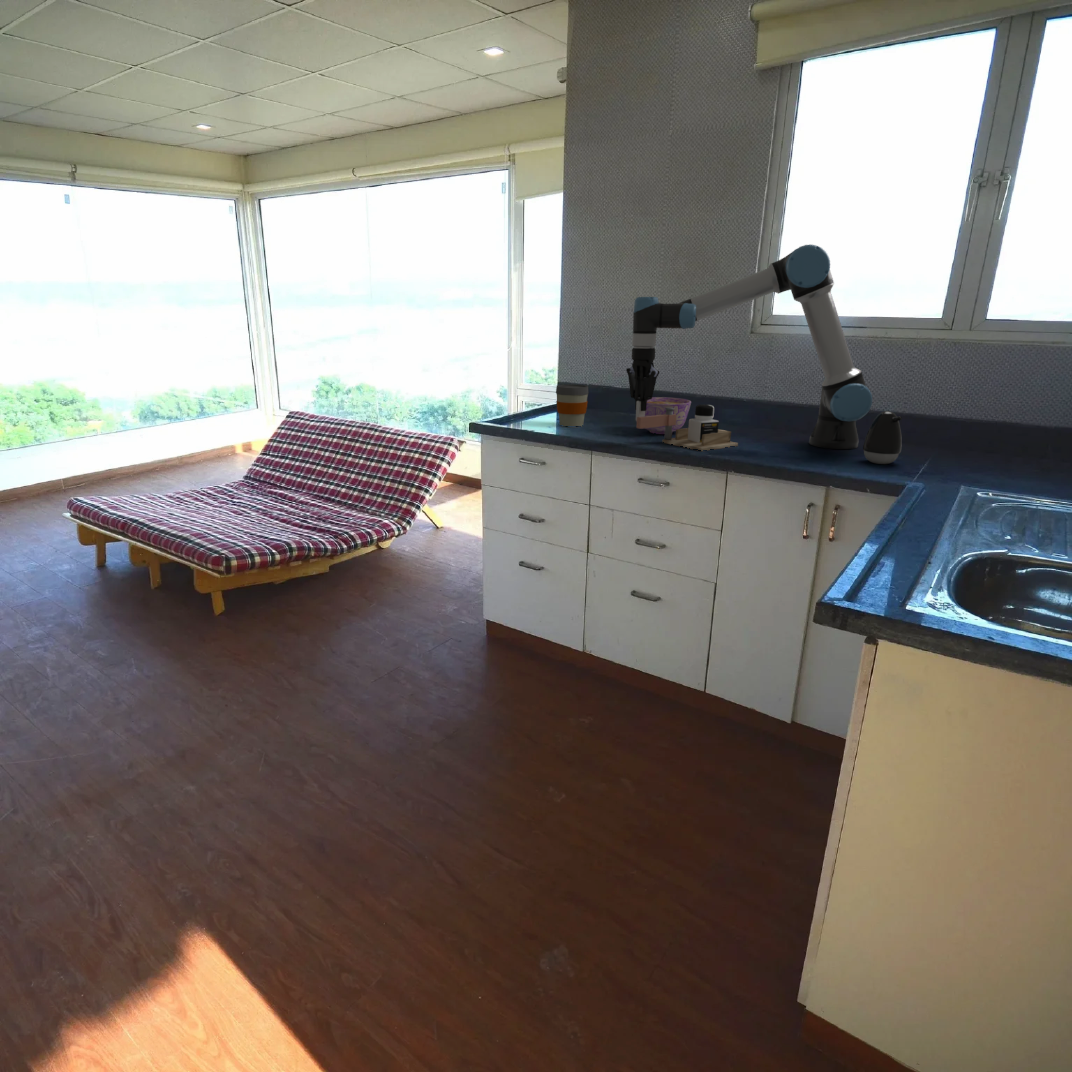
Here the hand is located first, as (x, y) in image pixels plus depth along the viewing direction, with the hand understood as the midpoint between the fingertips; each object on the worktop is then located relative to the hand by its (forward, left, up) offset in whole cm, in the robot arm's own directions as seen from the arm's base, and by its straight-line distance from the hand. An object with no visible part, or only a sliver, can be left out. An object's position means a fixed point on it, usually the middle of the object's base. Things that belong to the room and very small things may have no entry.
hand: (640, 420), depth 230 cm
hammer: (-3, -4, -7) cm, 8 cm away
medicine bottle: (-12, -18, -7) cm, 22 cm away
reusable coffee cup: (+43, -3, -8) cm, 43 cm away
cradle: (-11, -18, -8) cm, 23 cm away
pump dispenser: (-60, -42, -8) cm, 74 cm away
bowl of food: (+13, -22, -8) cm, 26 cm away
